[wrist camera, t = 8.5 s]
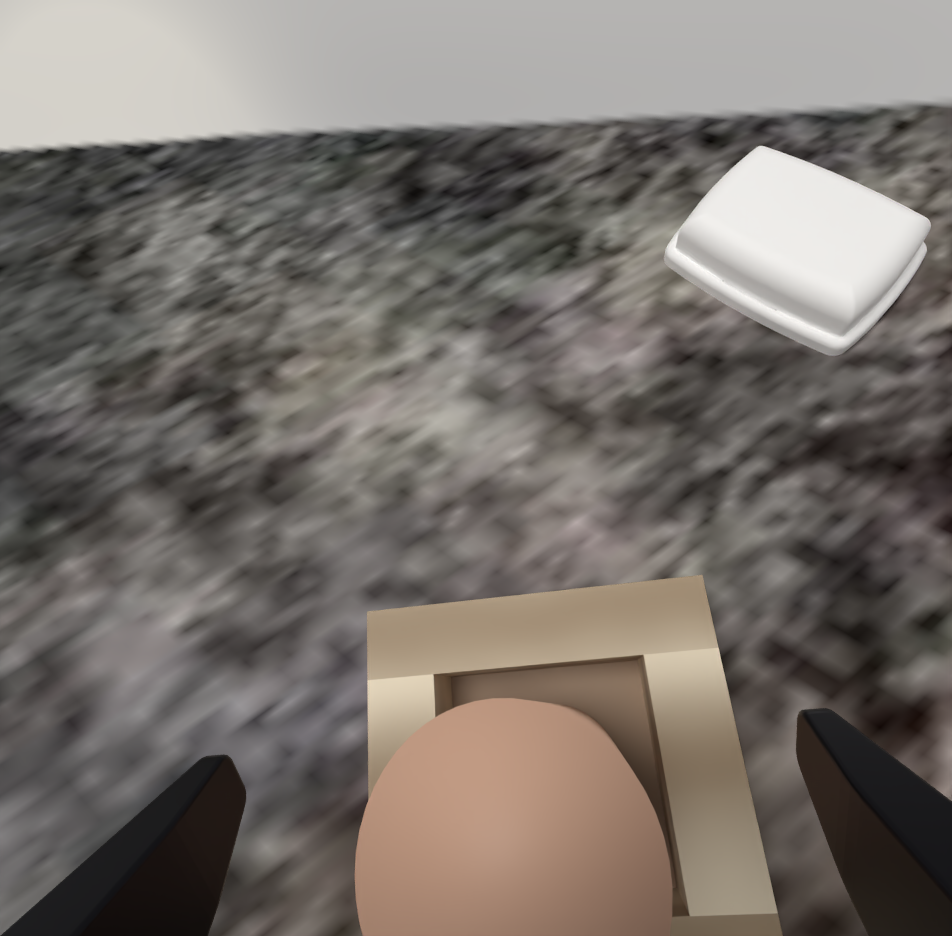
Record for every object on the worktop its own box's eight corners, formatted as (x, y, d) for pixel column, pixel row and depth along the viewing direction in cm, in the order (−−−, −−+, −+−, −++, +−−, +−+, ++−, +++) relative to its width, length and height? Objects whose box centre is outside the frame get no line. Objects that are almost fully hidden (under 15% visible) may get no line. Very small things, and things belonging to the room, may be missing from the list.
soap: (650, 267, 27) (657, 220, 24) (740, 171, 28) (756, 116, 25) (835, 372, 24) (866, 330, 21) (930, 259, 25) (971, 206, 22)
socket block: (768, 971, 17) (802, 1022, 14) (402, 978, 19) (370, 1026, 16) (688, 591, 21) (702, 575, 19) (394, 622, 23) (367, 611, 20)
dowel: (568, 887, 18) (531, 1178, 7) (463, 781, 20) (294, 877, 9) (651, 769, 19) (741, 857, 8) (544, 676, 21) (487, 637, 9)
